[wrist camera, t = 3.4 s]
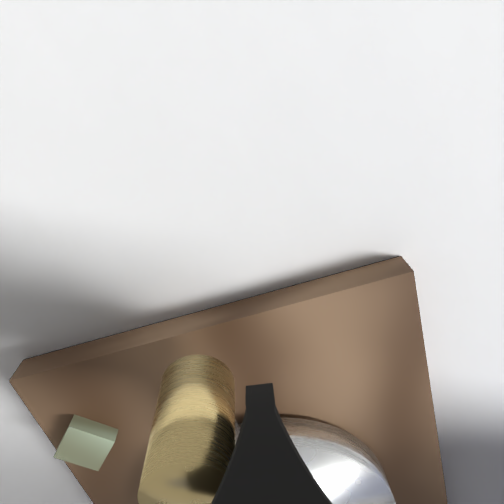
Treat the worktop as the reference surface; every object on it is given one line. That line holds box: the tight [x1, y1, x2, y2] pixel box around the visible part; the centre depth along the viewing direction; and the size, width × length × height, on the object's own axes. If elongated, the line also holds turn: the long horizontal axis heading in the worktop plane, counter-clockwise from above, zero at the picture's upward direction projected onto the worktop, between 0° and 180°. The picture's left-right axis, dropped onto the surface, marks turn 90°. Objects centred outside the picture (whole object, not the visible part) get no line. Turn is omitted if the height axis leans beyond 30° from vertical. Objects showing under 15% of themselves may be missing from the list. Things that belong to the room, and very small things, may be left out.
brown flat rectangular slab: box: [9, 256, 448, 504], centre depth 19 cm, size 15×19×2 cm
